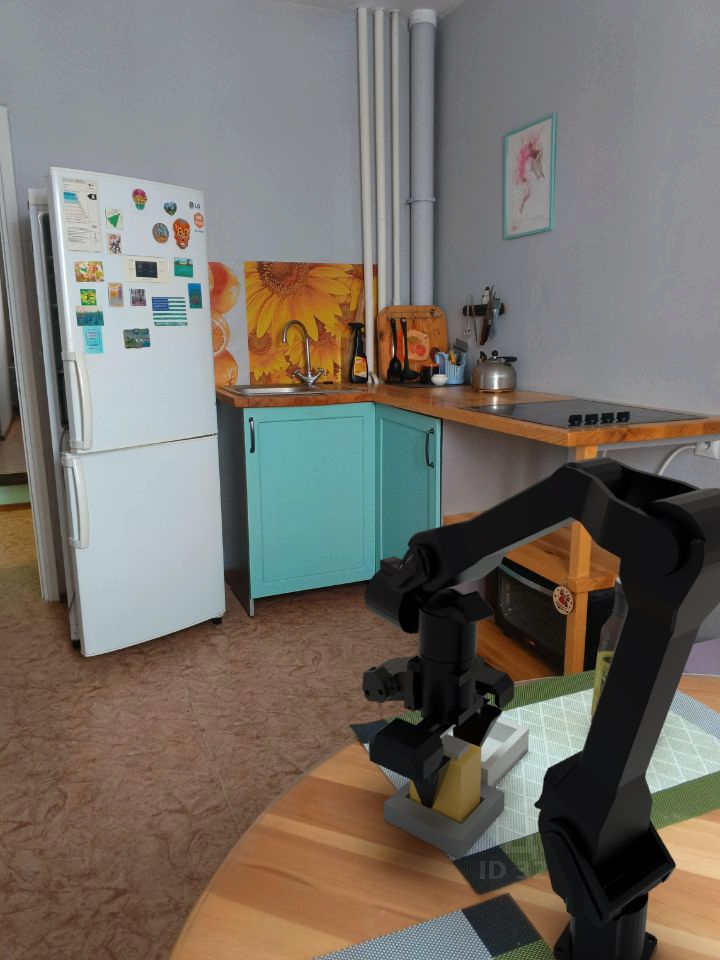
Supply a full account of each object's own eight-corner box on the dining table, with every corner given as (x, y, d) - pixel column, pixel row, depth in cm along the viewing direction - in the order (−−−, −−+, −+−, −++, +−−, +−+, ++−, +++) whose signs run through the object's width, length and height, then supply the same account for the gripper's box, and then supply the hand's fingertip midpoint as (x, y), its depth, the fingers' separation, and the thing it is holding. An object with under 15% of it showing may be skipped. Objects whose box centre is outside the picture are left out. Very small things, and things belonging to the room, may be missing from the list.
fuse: (459, 838, 71) (461, 761, 69) (409, 813, 75) (410, 740, 73) (479, 816, 74) (481, 742, 72) (430, 793, 78) (431, 722, 76)
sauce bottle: (591, 742, 87) (601, 587, 82) (588, 714, 92) (597, 569, 88) (649, 749, 85) (662, 592, 81) (642, 720, 91) (654, 573, 86)
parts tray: (487, 794, 77) (488, 770, 77) (410, 760, 83) (411, 737, 83) (528, 750, 85) (529, 728, 84) (455, 722, 91) (455, 701, 90)
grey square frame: (460, 859, 68) (460, 841, 68) (384, 820, 74) (384, 803, 73) (503, 809, 75) (504, 792, 75) (431, 776, 81) (431, 760, 80)
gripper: (429, 601, 82) (428, 723, 86) (322, 662, 68) (326, 805, 71) (518, 625, 75) (513, 756, 79) (420, 699, 61) (419, 855, 65)
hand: (445, 789), depth 74 cm, fingers open, 6 cm apart
